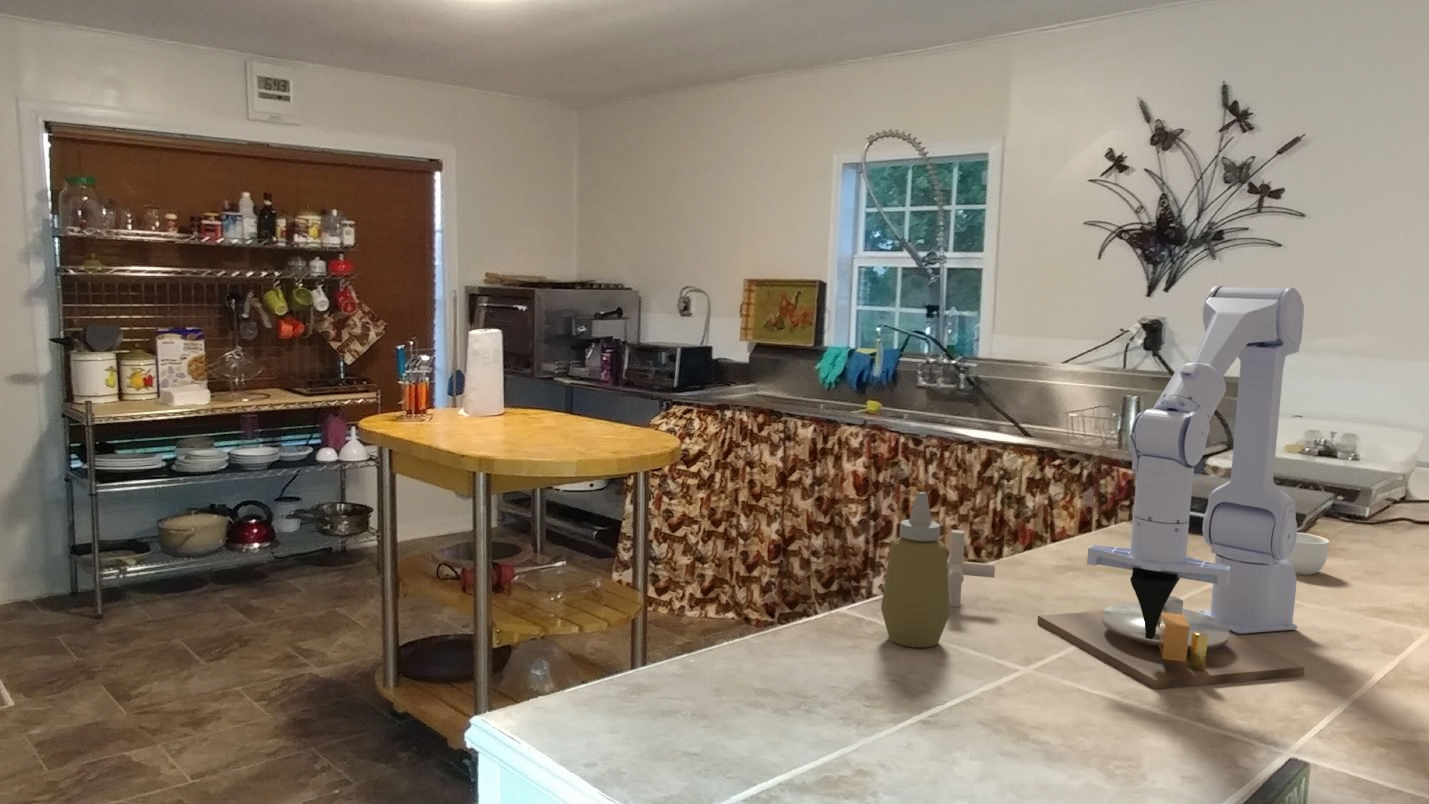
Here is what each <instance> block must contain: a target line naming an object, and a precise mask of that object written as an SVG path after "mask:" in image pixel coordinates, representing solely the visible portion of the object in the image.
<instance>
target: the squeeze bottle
mask: <svg viewBox="0 0 1429 804" xmlns="http://www.w3.org/2000/svg"><path fill="white" fill-rule="evenodd" d="M929 505H930V504H929V497H928V494H927V492H924V491H920V492H919V491H918V492H916V493H915V499H914V501H913V506H912V509H911V513H910V515H909V519H904V520H901V521H900V522H899V525H900V526H899V537H897V538H895V539H894V540H893V541H892V542H891V543H890V550H889V556H888V562H887V568H886V569H887V570H886V573H885V574H886V575H885V581H884V588H883V594H882V599H881V607H880V608H881V614H882V617H883V619H884V620H883V621H884V625H885V627H886V631H887V636H888V638H889V640H890V641H892V642H893V643H895V644H897V645H900V646H904V647H910V648H921V649H922V648H930V647H934V646H936V645H938V643H940V642H939V641H940V639H941V637H942V634H943V632H944V631H945V627H946V626H947V622H948V620H949V619H950V618H949V617H950V606H949V590H948V566H947V560H948V548H947V546H946V545H945V544H944V542H943V541H940V540H939V539H940V536H941V535H940V534H941V525H940V524H939V522H936V521H934V520H933V521H932V516H931V510H930V506H929Z"/></svg>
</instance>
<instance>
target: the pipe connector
mask: <svg viewBox="0 0 1429 804" xmlns="http://www.w3.org/2000/svg"><path fill="white" fill-rule="evenodd" d="M965 533H966V532H965V530H962V529H952V530H950V540H949V554H948V555H947V566H948V590H949V607H953V608H957V607H961V600H962V599H961V597H962V584H963V582H964V576H969V577H970V576H971V577H984V578H995V571H996V570H995V569H996V567H995V563H988V562H987V563H985V562H972V561H964V552H965V551H964V549H965V537H966V536H965V535H966V534H965Z"/></svg>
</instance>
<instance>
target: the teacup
mask: <svg viewBox="0 0 1429 804" xmlns="http://www.w3.org/2000/svg"><path fill="white" fill-rule="evenodd" d="M1329 546H1330V540H1329V539H1328V538H1326V537H1323V536H1319V535H1316V534H1310V533H1306V532H1298V531H1297V537H1296V542H1295V546H1294V549H1293V551H1292V553H1291V554H1290V555H1289V556H1288V557H1287V558H1286V560H1288V561H1289V562H1290V563H1291V565H1292V566H1293V568H1294V571H1295V574H1296V575H1303V576H1304V575H1305V576H1309V575H1310V576H1311V575H1313V574H1315V573H1316V574H1317V573H1318V572H1319V571H1321V570H1322V568H1323V567H1324V566H1325V564H1326V561H1327V558H1328V552H1329V548H1330V547H1329Z"/></svg>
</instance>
